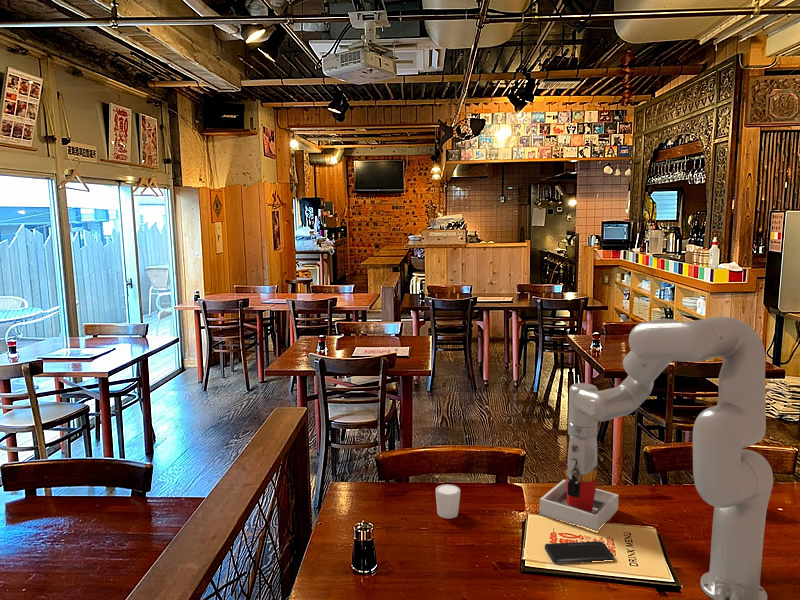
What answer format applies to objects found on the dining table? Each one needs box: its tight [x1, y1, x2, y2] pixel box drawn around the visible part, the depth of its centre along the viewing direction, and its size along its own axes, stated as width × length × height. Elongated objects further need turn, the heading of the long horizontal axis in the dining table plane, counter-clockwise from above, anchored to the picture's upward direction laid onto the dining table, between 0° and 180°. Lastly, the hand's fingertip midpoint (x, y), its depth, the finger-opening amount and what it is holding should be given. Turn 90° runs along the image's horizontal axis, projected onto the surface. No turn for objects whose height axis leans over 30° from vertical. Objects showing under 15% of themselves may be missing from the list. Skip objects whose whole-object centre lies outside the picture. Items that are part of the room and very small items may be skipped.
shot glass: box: [435, 483, 461, 520], centre depth 163 cm, size 7×7×7 cm
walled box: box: [538, 478, 620, 531], centre depth 164 cm, size 16×16×4 cm
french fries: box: [564, 469, 598, 512], centre depth 163 cm, size 8×4×12 cm, turn 94°
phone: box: [544, 540, 615, 565], centre depth 144 cm, size 8×1×15 cm
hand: (580, 489), depth 163 cm, fingers open, 9 cm apart
